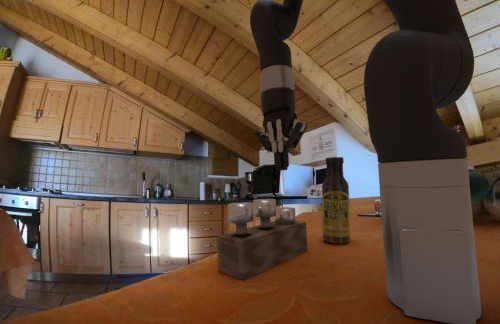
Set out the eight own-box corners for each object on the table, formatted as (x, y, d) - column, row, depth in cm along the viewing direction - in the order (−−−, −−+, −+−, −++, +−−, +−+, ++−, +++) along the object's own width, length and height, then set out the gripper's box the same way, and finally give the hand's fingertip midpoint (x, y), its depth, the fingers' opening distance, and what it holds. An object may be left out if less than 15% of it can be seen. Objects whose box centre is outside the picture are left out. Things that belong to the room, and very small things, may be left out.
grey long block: (283, 245, 58) (281, 219, 58) (307, 250, 53) (305, 221, 53) (218, 270, 44) (216, 236, 44) (243, 280, 39) (242, 241, 40)
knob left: (247, 248, 41) (245, 205, 42) (224, 246, 43) (223, 205, 43) (258, 241, 45) (256, 202, 45) (237, 239, 47) (235, 202, 47)
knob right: (293, 245, 50) (291, 210, 51) (273, 243, 52) (271, 209, 53) (299, 239, 54) (297, 207, 55) (279, 238, 56) (278, 207, 57)
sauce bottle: (322, 244, 57) (317, 157, 58) (323, 237, 63) (318, 158, 64) (353, 245, 55) (347, 155, 56) (351, 238, 61) (345, 157, 62)
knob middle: (272, 239, 46) (270, 201, 46) (250, 238, 48) (249, 201, 48) (280, 234, 50) (278, 198, 50) (260, 232, 52) (258, 198, 52)
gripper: (244, 96, 57) (248, 172, 56) (293, 78, 48) (298, 168, 47) (265, 102, 62) (269, 171, 61) (312, 87, 53) (318, 168, 52)
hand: (282, 170), depth 54 cm, fingers closed
